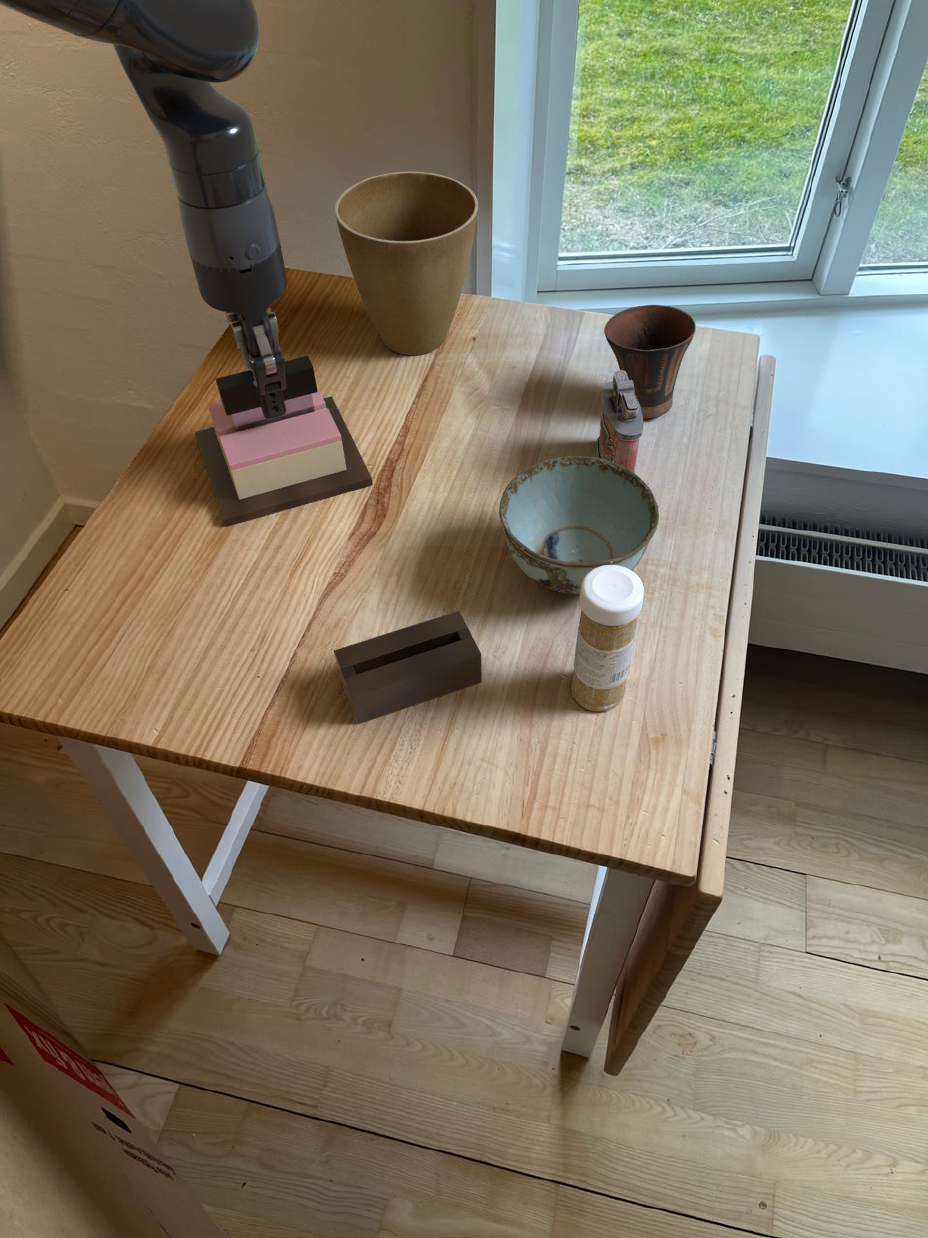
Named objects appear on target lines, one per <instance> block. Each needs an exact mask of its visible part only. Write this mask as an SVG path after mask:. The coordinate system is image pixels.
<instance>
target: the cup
mask: <svg viewBox="0 0 928 1238" xmlns="http://www.w3.org/2000/svg"><path fill="white" fill-rule="evenodd" d="M696 329H697V324H696V322H695V319H694V318H693V317H692V316H691V315H690V314H689V313H688V312H686V311H685V310H682V309H680V308H679V307H675V306H671V305H662V304H646V305H645V304H644V305H637V306H632V307H629V308H626V309H623V310H620V311H619V312H617V313H615V314H614V315H612V317H611V318H609V319H608V320H607V322H606V323H605V326H604V329H603V331H604V337H605V339H606V341H607V343H608V345H609V346H610V348H611V351H612V352H613V354H614V356H615V360H616V362H617V365H618V369H619V370H623V371H625V372H626V374H627V377H628V379H629V380H633V383H634V391H635V396H636V398H637V400H638V402H639V404H640V407H641V411H642V415H643V419H655V418H658V417H661V416H663V415H665V414H667V413H668V412H669V411H670V410H671V409H672V407H673V401H674V391H675V388H676V387H675V386H676V382H677V378H678V376H679V375H678V374H679V371H680V369H681V366H682V362H683V359H684V356H685V354H686V352H687V350H688V348H689V346H690V345H691V343H692V341H693V339H694V336H695V334H696Z"/></svg>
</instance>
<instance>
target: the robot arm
mask: <svg viewBox="0 0 928 1238" xmlns="http://www.w3.org/2000/svg"><path fill="white" fill-rule="evenodd" d="M0 6H2V7H5V8H7V9H9V10H12V11H13V12H14V11H15V12H16V13H18V14H20V15H23V16H25V17H28V18H31V19H33V20H36V21H38V22H41V23H43V24H46V25H48V26H51V27H53V28H56V29H58V30H61V31H63V32H66V33H68V34H71V35H73V36H76V37H80V38H82V39H86V40H90V41H94V42H98V43H103V44H108V45H109V44H110V45H112V46H113V49H114V51H115V54H116V56H117V58H118V60H119V62H120V64H121V67H122V69H123V71H124V73H125V75H126V76H127V79H128V80H129V82H130V84H131V86H132V88H133V90H134V92H135V94H136V95H137V98H138V99H139V102H140V103H141V105H142V108H143V109H144V112H145V114H146V115H147V117H148V119H149V120H150V123H151V124H152V125H153V127H154V129H155V131H156V132H157V134H158V135H159V136H158V137H160V139H161V141H162V144H163V147H164V151H165V156H166V158H167V162H168V166H169V169H170V174H171V177H172V180H173V185H174V188H175V192H176V196H177V201H178V202H177V203H178V210H179V216H180V223H181V227H182V232H183V234H184V238H185V242H186V246H187V249H188V254H189V257H190V260H191V264H192V267H193V271H194V275H195V278H196V283H197V286H198V289H199V293H200V296H201V299H202V300H203V301H204V303H206V304H207V305H208V306H209V307H211V308H212V309H215V310H216V311H220V312H224V313H225V316H226V319H227V322H228V324H229V327H231V331H232V334H233V338H234V342H235V344H236V346H237V349H238V351H239V352H240V354H241V357H242V362H243V363H244V366H245V368H246V370H247V371H248V370H251V371H252V375H253V379H254V381H253V384H254V387H255V386H256V389H257V392H258V396H259V400H260V404H261V409H262V412H263V415H264V417H265V418H267V419H270V418H274V417H278V416H281V415H284V414H285V413H286V407H285V402H284V397H283V393H282V390H284V389H286V385H287V384H286V377H285V363H284V361H286V358H285V355H284V354H283V353H282V349H281V345H280V341H279V333H280V327H279V323H278V318H277V315H276V313H275V311H272V308H271V306H272V305H274V303H276V302H277V301H279V300H280V299H281V298H282V296H283V295H284V294H285V292H286V290H287V287H288V277H287V272H286V266H285V260H284V255H283V249H282V245H281V240H280V235H279V230H278V223H277V219H276V213H275V209H274V205H273V202H272V199H271V196H270V193H269V189H268V187H267V183H266V177H265V173H264V168H263V167H264V166H263V162H262V156H261V152H260V146H259V142H258V136H257V132H256V128H255V125H254V122H253V118H252V117H251V115H250V114H249V112H248V111H247V109H245V108H244V107H243V106H242V105H241V104H239V103H238V102H236V101H235V100H233V99H231V98H230V97H227V96H226V95H224V94H222V93H221V92H220V91H219V90H217V89H216V88H215V87H214V86H213V85H212V83H215V84H220V83H226V82H229V81H232V80H235V79H236V78H238V77H239V76H241V75H242V74H244V73H245V72H246V71H247V70H248V69H249V68H250V66H251V65H252V64H253V62H254V60H255V59H256V55H257V54H258V50H259V48H260V47H259V46H260V42H261V22H260V17H259V13H258V9H257V6H256V4H255V0H0Z"/></svg>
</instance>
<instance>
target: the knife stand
mask: <svg viewBox="0 0 928 1238" xmlns="http://www.w3.org/2000/svg"><path fill="white" fill-rule="evenodd" d="M333 654H334V658H335V663H336V667H337V672H338V677H339V680H340V683H341V686H342V688H343V691H344V694H345V696H346V699H347V702H348V704H349V706H350V709H351V712H352V714H353V717H354V720H355V722H356V724H357V725H360V724H364V723H366V722H368V721H372V720H374V719H377V718H381V717H383V716H386V715H390V714H393V713H395V712H398V711H401V710H404V709H407V708H410V707H413V706H416V705H419V704H422V703H425V702H428V701H431V700H433V699H437V698H439V697H442V696H446V695H449V694H451V693H453V692H457V691H459V690H460V691H461V690H464V689H466V688H469V687H471V686H475V685H478V684H481V683H482V682H483V676H482V675H483V673H482V672H483V671H482V670H483V669H482V668H483V667H482V652H481V650H480V649H479V647H478V644H477V643H476V640H475V638H474V637H473V635H472V632H471V630H470V629H469V627H468V625H467V623H466V621H465V619H464V617H463V615H462V612H461V611H460V610H455V611H453V612H449V613H446V614H443V615H439V616H437V617H433V618H431V619H428V620H424V621H421V622H418V623H416V624H412V625H408V626H406V627H402V628H400V629H397V630H396V629H395V630H394V631H393V630H392V631H391V632H387V633H384V634H381V635H378V636H375V637H371V638H369V639H365V640H362V641H359V642H356V643H353V644H350V645H347V646H343V647H340V648H337V649H335V650H333Z"/></svg>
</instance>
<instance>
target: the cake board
mask: <svg viewBox="0 0 928 1238" xmlns="http://www.w3.org/2000/svg"><path fill="white" fill-rule="evenodd" d="M323 399H324V401H325V405H326V409H327V408H328V410H329V412H330V414H331V416H332V418H333V420H334V422H335V424H336V426H337V428H338V430H339V432H340V435H341V439H342V445H343V452H344V458H345V464H346V470H344V471H341V472H337V473H333V474H330V475H326V476H323V477H319V478H316V479H312V480H308V481H305V482H301V483H298V484H294V485H291V486H287V487H283V488H280V489H276V490H273V491H269V492H266V493H262V494H258V495H255V496H251V497H248V498H244V499H241V500H239V498H238V495H237V492H236V490H235V487H234V484H233V481H232V478H231V475H230V473H229V469H228V466H227V464H226V461H225V458H224V456H223V453H222V450H221V447H220V444H219V441H218V438H217V435H216V432H215V428H214V426H213V427H208V428H204V429H201V430H198V431H194V435H195V438H196V441H197V444H198V447H199V450H200V453H201V456H202V459H203V462H204V465H205V468H206V471H207V474H208V477H209V481H210V483H211V486H212V489H213V492H214V495H215V498H216V502H217V504H218V508H219V510H220V514H221V516H222V519H223V523H224V526H225V527H230V526H234V525H238V524H240V523H244V522H247V521H251V520H255V519H258V518H262V517H265V516H268V515H272V514H277V513H279V512H282V511H286V510H290V509H292V508H297V507H300V506H304V505H307V504H311V503H314V502H318V501H321V500H325V499H329V498H332V497H335V496H339V495H342V494H346V493H350V492H353V491H356V490H361V489H363V488H367V487H371V486H373V477H372V475H371V474H370V471H369V469H368V467H367V464H366V463H365V461H364V459H363V456H362V454H361V452H360V451H359V449H358V446H357V444H356V442H355V440H354V439H353V436H352V434H351V433H350V430H349V428H348V427H347V424H346V422H345V420H344V418H343V416H342V414H341V412H340V410H339V408H338V406H337V403H336V401H335V399H334V398H333V396H332V395H331V396H327V397H323Z"/></svg>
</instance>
